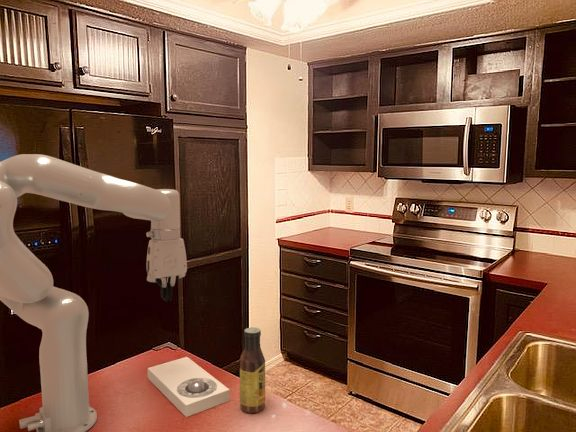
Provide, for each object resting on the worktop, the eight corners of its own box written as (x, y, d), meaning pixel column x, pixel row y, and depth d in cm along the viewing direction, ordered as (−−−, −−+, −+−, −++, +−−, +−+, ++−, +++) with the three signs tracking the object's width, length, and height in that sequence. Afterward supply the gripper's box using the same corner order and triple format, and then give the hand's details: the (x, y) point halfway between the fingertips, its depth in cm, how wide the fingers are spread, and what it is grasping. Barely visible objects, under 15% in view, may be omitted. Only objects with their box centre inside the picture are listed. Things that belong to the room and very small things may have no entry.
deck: (186, 417, 108) (186, 405, 108) (147, 378, 127) (147, 368, 126) (229, 400, 116) (229, 389, 115) (187, 366, 134) (187, 356, 134)
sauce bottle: (264, 414, 110) (264, 336, 107) (238, 414, 110) (237, 335, 107) (266, 400, 116) (266, 325, 113) (241, 399, 116) (241, 325, 114)
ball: (200, 405, 116) (183, 400, 115) (203, 392, 120) (187, 387, 119) (206, 392, 114) (188, 387, 113) (209, 379, 118) (192, 374, 117)
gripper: (144, 239, 116) (145, 308, 118) (197, 234, 125) (197, 298, 127) (133, 235, 122) (135, 301, 124) (185, 230, 131) (186, 292, 133)
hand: (167, 299), depth 126 cm, fingers closed
